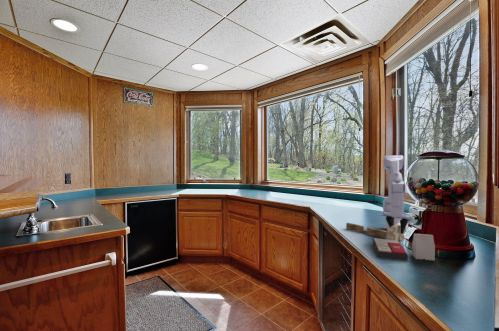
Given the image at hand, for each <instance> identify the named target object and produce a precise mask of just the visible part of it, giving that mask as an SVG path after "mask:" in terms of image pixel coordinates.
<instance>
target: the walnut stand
mask: <svg viewBox="0 0 499 331" xmlns="http://www.w3.org/2000/svg"><path fill="white" fill-rule="evenodd" d="M345 225H346V226H345V227H346V228H345V229H346V230H349V231H354V232H357V233H362V234H365V235H370V236H373V237H378V238H380V239H387V230H384V229H379V228H376V227H375V228H374V227H370V226H369V227H367V229H365V225H360V224H356V223H350V222H346V224H345Z"/></svg>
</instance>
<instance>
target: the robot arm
mask: <svg viewBox="0 0 499 331" xmlns="http://www.w3.org/2000/svg"><path fill="white" fill-rule="evenodd" d="M404 158H405V157H404V156H403V155H402V154H400V155H384V156H383V161H382V162H383V169H384V170H386V171H387V173H388V180H387V181H388V183H387V184H388V185H387V186H388V195H387V197H386V198H384V199H383V203H382V210H383V211H381V215H380V216H381V217H385V226H383V227H382V229H386V230H387V228H389V227H391V226H394V225H396V224H398V223H400V225H401V234H403V233H404V230H405V227H406V228H407V225H408V223H409V222H415V216H412V215H407V214H405V193H406V184H405V182H404V180H403V175H402V173H401V172H400V170H402V168H403V166H404V162H405V161H404Z"/></svg>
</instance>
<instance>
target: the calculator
mask: <svg viewBox="0 0 499 331" xmlns="http://www.w3.org/2000/svg"><path fill="white" fill-rule="evenodd" d="M372 247H373V249H374V252H375V255H376V257H377V258H381V259H388V260H390V259H391V260H398V261H406V262H408V258H409V257H408V256H409V254H408V253H407V251H406V250H405V248H404V247H403V245H402V244H401V243H400V240H398V241H397V240H387V238H386V239H385V238H376V237H374V238H372Z"/></svg>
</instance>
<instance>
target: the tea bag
mask: <svg viewBox="0 0 499 331" xmlns="http://www.w3.org/2000/svg"><path fill="white" fill-rule="evenodd" d="M412 237H413V238H412V244H411V245H412V246H411V247H412V251H411V252H412V253H411V256H412V257H413V258H414V259H416V260H423V259H425V260H426V261H433V262H435V260H436V258H435V256H436V245H435V240H434V235H433V234H422V233H413V236H412Z"/></svg>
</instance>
